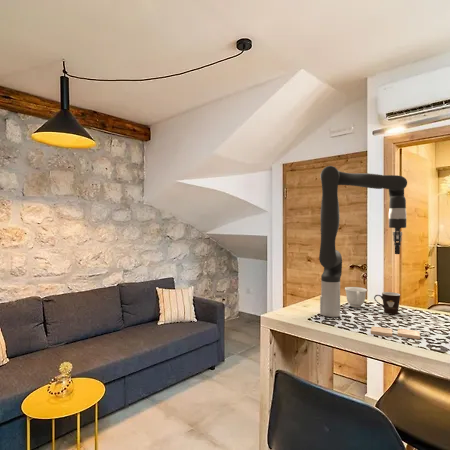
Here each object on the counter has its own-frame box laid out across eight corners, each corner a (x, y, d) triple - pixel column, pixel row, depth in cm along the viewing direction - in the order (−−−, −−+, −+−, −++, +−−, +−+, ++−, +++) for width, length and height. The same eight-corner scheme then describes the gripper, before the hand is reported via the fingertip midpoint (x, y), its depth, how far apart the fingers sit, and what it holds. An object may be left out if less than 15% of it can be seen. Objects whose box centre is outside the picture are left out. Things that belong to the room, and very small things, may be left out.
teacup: (346, 309, 174) (346, 291, 174) (342, 303, 189) (342, 286, 189) (370, 311, 172) (370, 292, 172) (364, 304, 186) (365, 287, 186)
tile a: (371, 329, 142) (370, 334, 136) (371, 326, 142) (370, 330, 136) (392, 332, 139) (392, 337, 132) (392, 328, 139) (392, 333, 132)
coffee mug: (403, 313, 168) (403, 294, 168) (395, 316, 163) (395, 296, 163) (381, 308, 177) (381, 290, 177) (373, 310, 172) (373, 292, 172)
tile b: (397, 332, 139) (397, 336, 133) (397, 328, 139) (397, 332, 133) (419, 335, 136) (420, 340, 129) (419, 331, 136) (420, 336, 129)
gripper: (388, 218, 163) (388, 252, 163) (388, 217, 151) (388, 254, 151) (405, 218, 159) (405, 253, 159) (406, 217, 148) (406, 255, 148)
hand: (397, 254), depth 155 cm, fingers closed
